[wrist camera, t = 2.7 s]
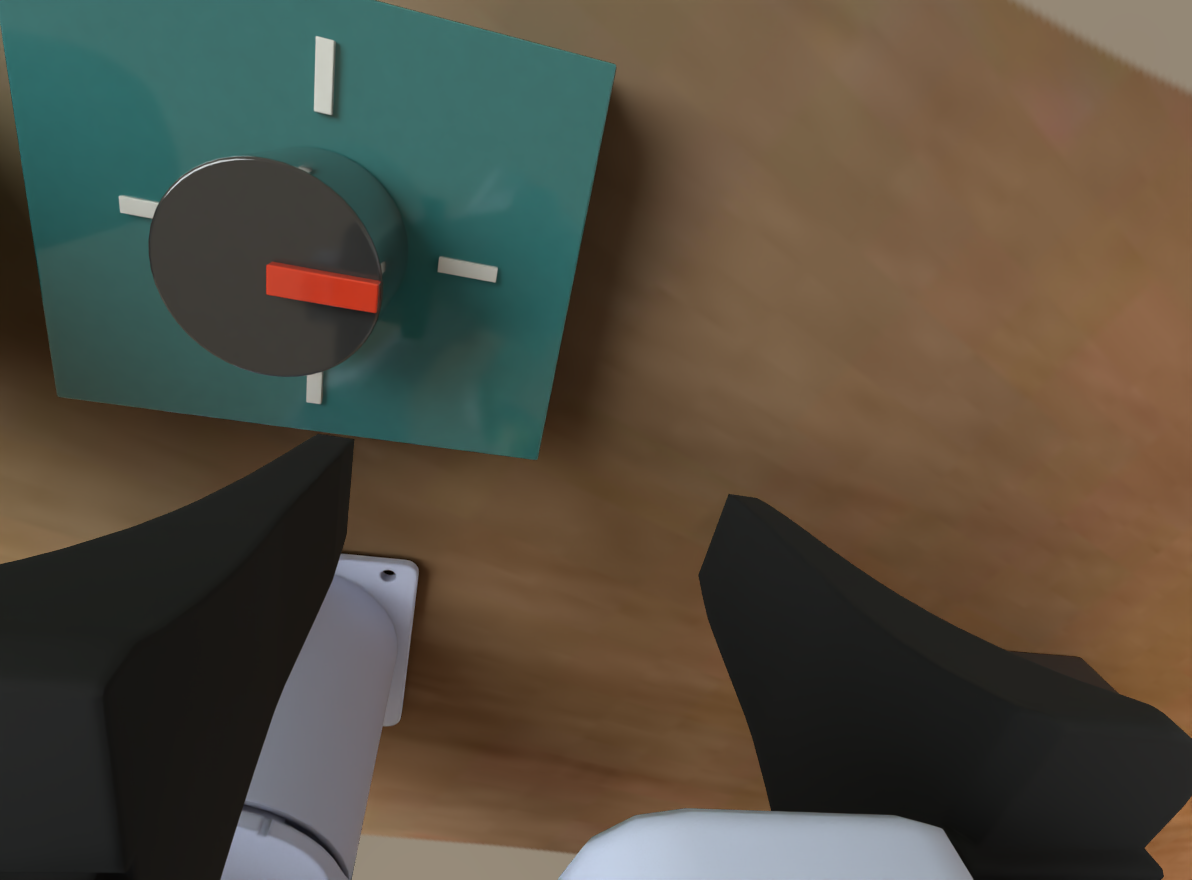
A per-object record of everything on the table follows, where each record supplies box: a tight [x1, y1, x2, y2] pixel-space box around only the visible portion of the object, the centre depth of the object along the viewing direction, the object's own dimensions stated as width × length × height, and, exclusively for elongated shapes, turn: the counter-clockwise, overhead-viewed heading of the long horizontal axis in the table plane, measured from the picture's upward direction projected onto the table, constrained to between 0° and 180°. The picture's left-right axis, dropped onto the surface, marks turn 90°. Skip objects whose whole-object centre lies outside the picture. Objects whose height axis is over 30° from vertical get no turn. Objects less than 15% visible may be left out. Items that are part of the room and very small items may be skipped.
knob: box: [148, 147, 408, 377], centre depth 13 cm, size 4×4×4 cm
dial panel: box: [0, 0, 616, 460], centre depth 16 cm, size 12×10×3 cm
